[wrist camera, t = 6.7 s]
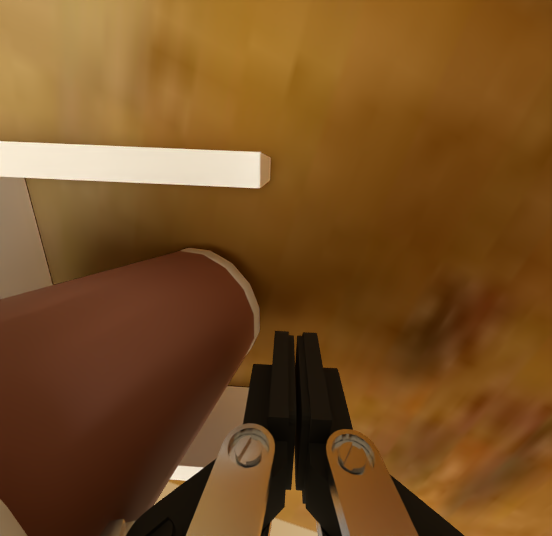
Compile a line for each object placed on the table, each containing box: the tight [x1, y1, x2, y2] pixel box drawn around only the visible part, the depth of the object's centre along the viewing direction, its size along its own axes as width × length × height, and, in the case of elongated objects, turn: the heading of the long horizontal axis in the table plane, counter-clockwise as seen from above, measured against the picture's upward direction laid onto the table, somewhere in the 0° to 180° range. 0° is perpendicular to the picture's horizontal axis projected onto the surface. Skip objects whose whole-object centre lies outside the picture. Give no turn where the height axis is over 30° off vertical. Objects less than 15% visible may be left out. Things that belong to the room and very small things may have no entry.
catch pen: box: [0, 141, 271, 481], centre depth 13 cm, size 13×14×5 cm
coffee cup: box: [0, 248, 260, 536], centre depth 9 cm, size 9×9×12 cm
